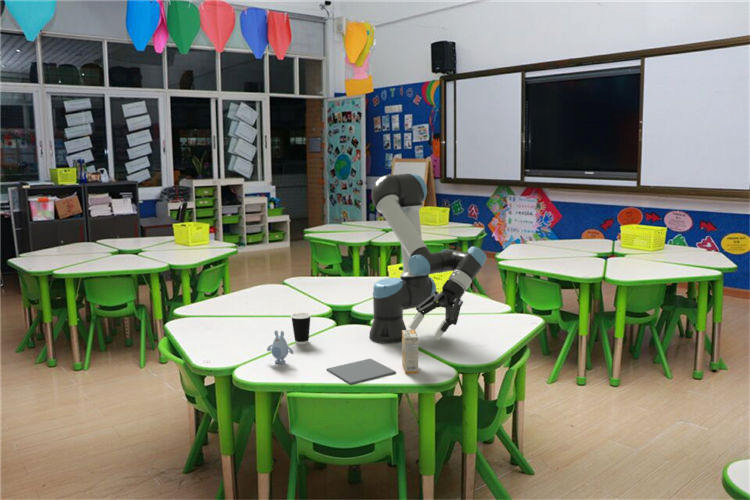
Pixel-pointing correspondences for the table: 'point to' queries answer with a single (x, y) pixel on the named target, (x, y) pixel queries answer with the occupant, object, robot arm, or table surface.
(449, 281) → the robot arm
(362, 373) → the mat
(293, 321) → the dixie cup
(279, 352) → the toy figure
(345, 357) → the table surface
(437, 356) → the table surface
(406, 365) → the supplement box
